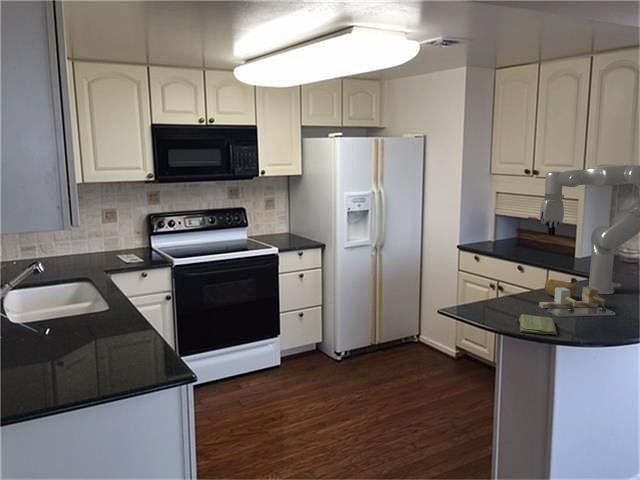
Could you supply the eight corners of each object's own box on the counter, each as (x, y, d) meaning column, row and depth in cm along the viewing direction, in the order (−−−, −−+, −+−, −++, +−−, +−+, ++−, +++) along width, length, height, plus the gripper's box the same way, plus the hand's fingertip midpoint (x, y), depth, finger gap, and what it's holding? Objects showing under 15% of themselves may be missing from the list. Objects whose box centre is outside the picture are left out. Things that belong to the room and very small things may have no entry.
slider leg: (563, 300, 232) (564, 287, 231) (579, 308, 220) (580, 294, 219) (554, 301, 232) (555, 287, 231) (570, 309, 219) (571, 295, 219)
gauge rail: (592, 304, 234) (593, 286, 232) (610, 312, 221) (611, 294, 220) (537, 306, 231) (539, 288, 230) (552, 314, 219) (554, 295, 218)
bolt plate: (603, 309, 226) (603, 305, 225) (615, 315, 218) (615, 310, 218) (547, 311, 224) (547, 306, 223) (557, 317, 216) (557, 312, 215)
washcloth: (519, 334, 197) (519, 325, 196) (518, 320, 213) (519, 312, 213) (557, 338, 192) (558, 329, 192) (554, 323, 209) (554, 315, 208)
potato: (572, 302, 237) (574, 285, 236) (540, 297, 246) (541, 280, 245) (579, 298, 244) (580, 281, 243) (547, 293, 253) (548, 276, 252)
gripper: (563, 196, 258) (561, 233, 261) (534, 197, 257) (532, 234, 259) (572, 197, 251) (570, 236, 254) (542, 198, 249) (540, 237, 252)
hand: (551, 235), depth 257 cm, fingers closed
